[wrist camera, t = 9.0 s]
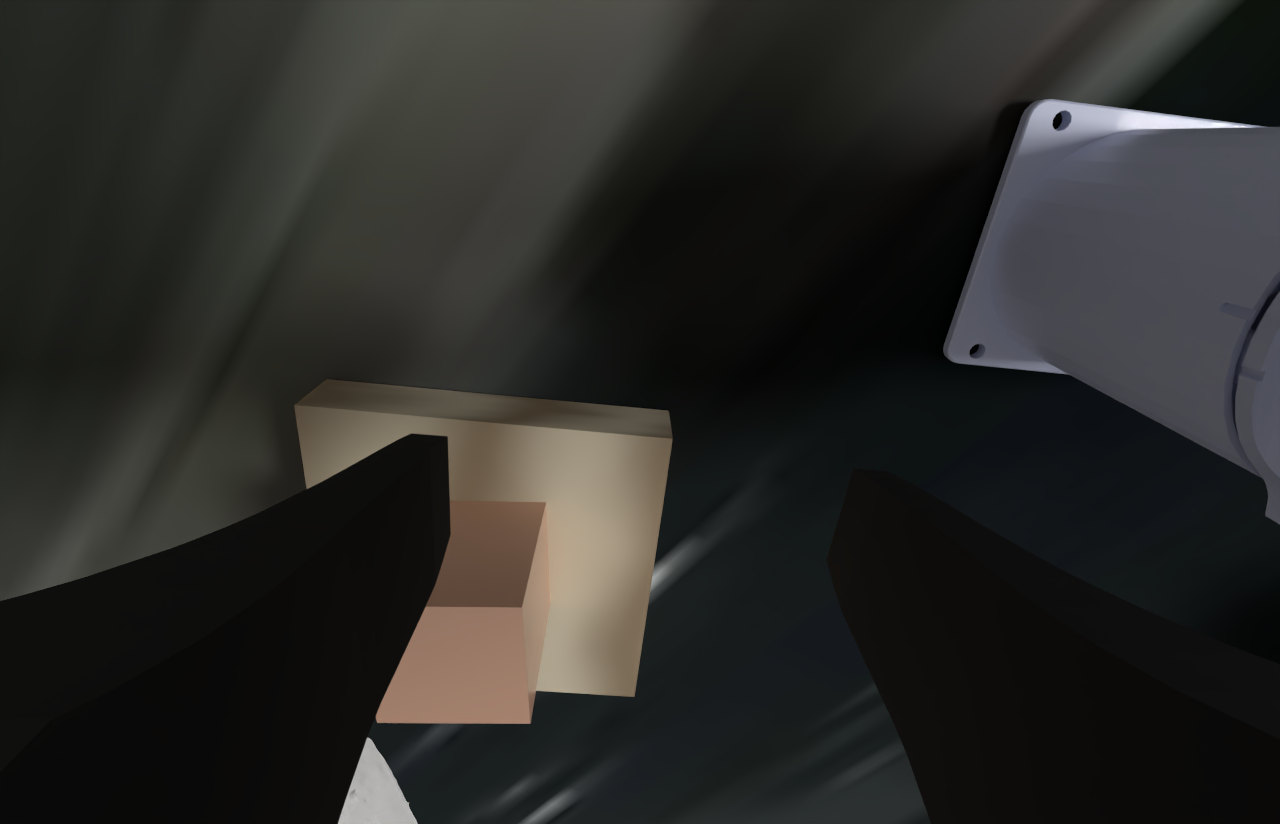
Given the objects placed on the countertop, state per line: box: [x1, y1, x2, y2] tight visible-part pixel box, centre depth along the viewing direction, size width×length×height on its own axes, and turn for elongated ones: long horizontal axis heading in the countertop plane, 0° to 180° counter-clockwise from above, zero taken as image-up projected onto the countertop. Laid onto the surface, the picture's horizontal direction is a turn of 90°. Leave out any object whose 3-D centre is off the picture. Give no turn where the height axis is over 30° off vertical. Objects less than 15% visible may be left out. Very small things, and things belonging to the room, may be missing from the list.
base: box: [294, 379, 673, 697], centre depth 22 cm, size 12×12×2 cm
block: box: [376, 501, 551, 724], centre depth 19 cm, size 4×4×5 cm
